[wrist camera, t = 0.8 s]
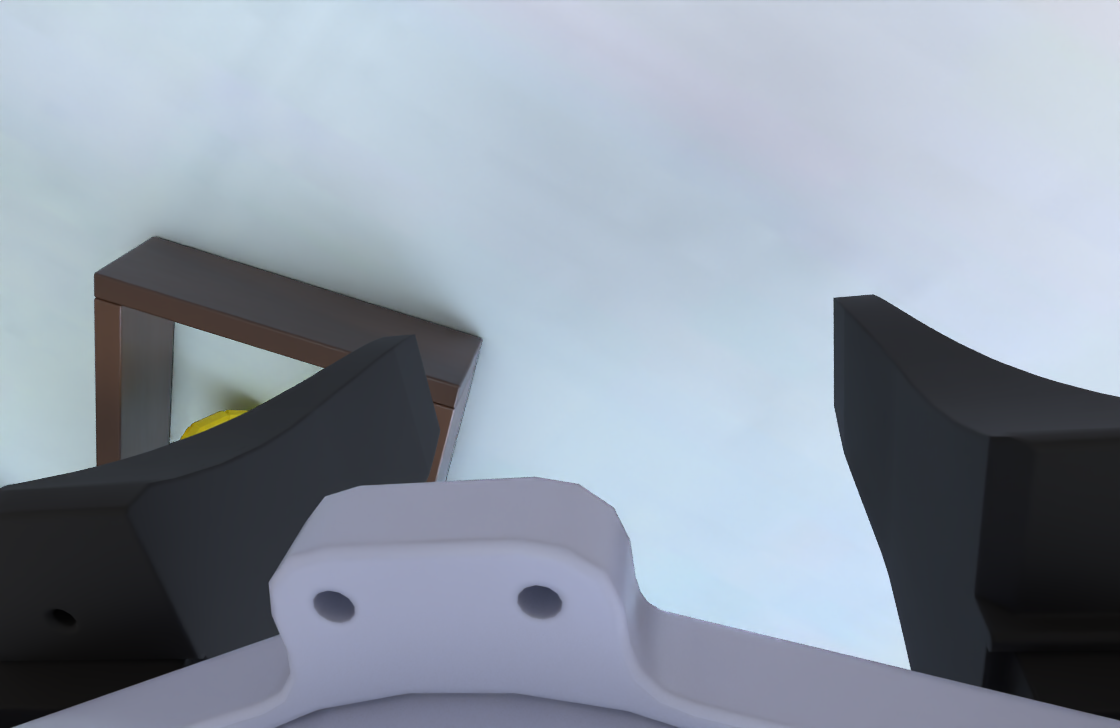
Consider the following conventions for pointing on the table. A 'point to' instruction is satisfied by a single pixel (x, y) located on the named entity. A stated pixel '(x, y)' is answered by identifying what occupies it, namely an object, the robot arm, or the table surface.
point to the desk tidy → (241, 338)
